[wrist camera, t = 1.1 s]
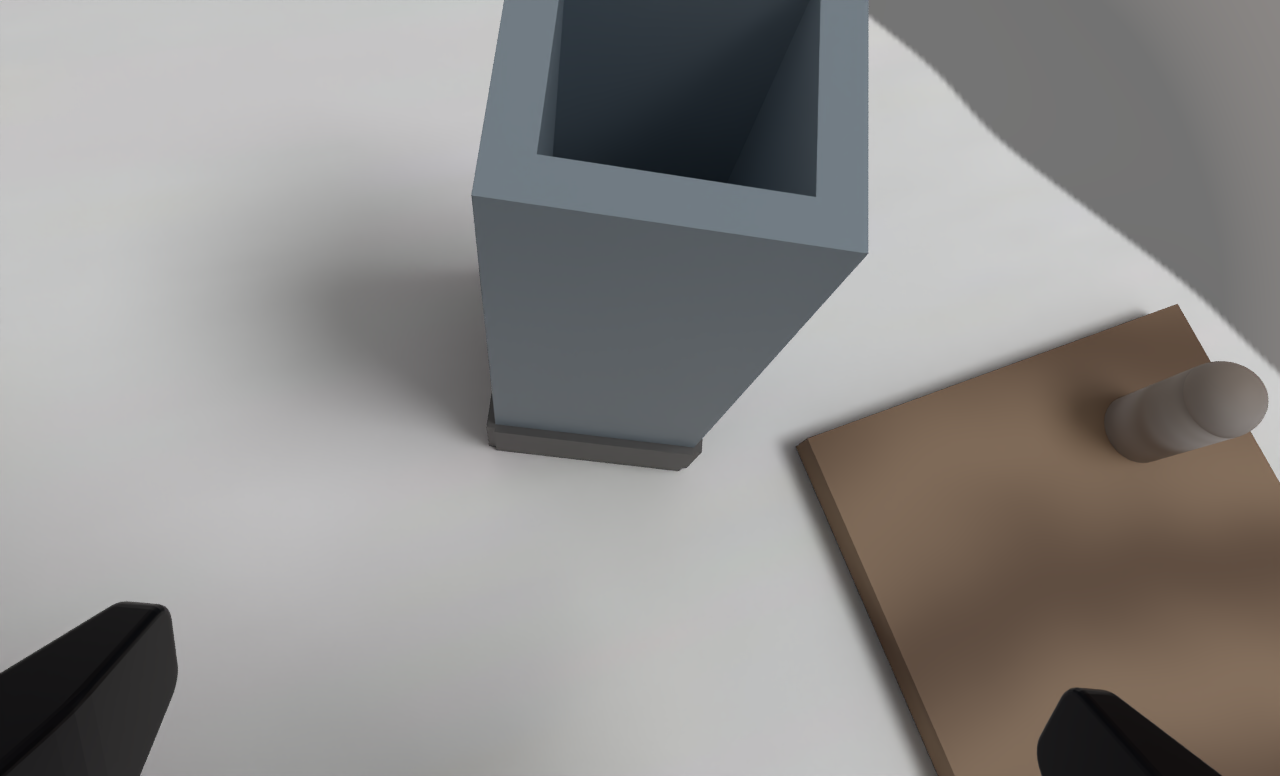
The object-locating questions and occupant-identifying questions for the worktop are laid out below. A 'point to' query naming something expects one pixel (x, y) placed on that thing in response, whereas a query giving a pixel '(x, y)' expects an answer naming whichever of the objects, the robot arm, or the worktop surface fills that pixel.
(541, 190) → the sleeve
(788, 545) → the worktop surface
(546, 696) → the worktop surface
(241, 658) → the worktop surface
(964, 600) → the pin board
